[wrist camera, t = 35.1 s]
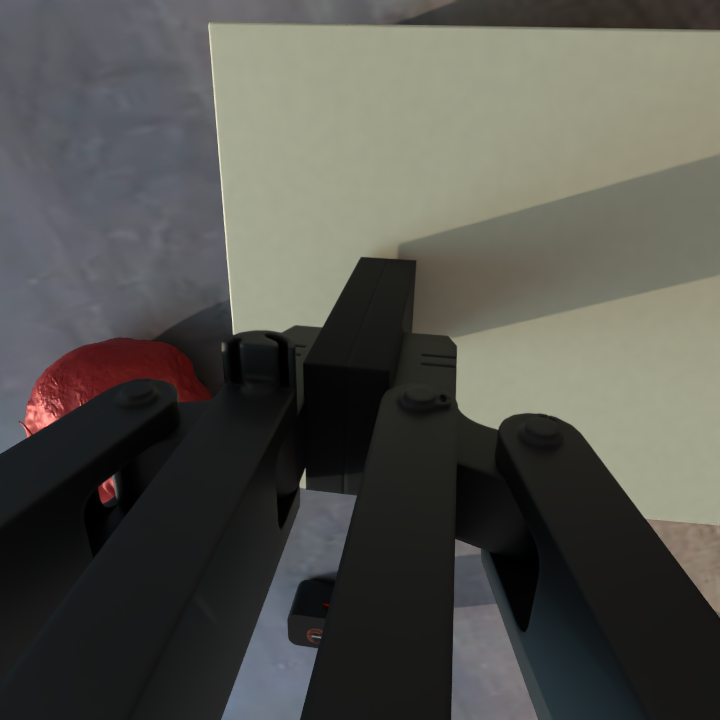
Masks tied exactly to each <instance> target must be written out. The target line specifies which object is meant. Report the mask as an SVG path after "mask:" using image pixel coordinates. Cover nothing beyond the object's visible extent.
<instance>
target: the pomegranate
mask: <svg viewBox="0 0 720 720" xmlns="http://www.w3.org/2000/svg"><path fill="white" fill-rule="evenodd" d="M140 378H141V379H143V378H151V379H156V380H163V381H166V382H168V383H171V384H173V385H174V387H175V388H176V389H177V392H178V400H179V402H191V401H203V400H211V399H213V398H212V395H211V393H210V392H209V390H208V389H207V388H206V387H205V386H204V385H203V384H202V383H201V382H200V381H199V380H198V379H197V378H196V376H195V372H194V368H193V364H192V362H191V360H190V359H189V358H188V357H187V356H186V355H185V354H184V353H183V352H182V351H181V350H179V349H178V348H177V347H175V346H173V345H169V344H167V343H164V342H159V341H147V340H135V339H130V338H114V339H109V340H106V341H103V342H99V343H94V344H89V345H84V346H81V347H79V348H77V349H75V350H73V351H71V352H69V353H67V354H66V355H64V356H63V357H62V358H60V359H59V360H57V361H56V362H55V363H54V364H53V365H51V366H50V367H49V368H47V369H46V370H45V371H44V373H43V374H42V376H41V377H40V378H39V379H38V380H37V381H36V384H35V386H34V388H33V390H32V393H31V397H30V400H29V401H28V403H27V408H26V409H27V410H26V415H25V425H26V426H25V425H24V424H23V423H22V422H20V421H19V423H21V424H22V425H23V427H24V428H25V430H26V433H27V437H30V436H31V435H33V434H34V433H36V432H38V431H39V430H41V429H43V428H44V427H46V426H48V425H49V424H51V423H53V422H54V421H56V420H58V419H59V418H61V417H63V416H64V415H66V414H68V413H69V412H71V411H73V410H74V409H76V408H78V407H79V406H81V405H83V404H84V403H86V402H88V401H89V400H91V399H92V398H94V397H96V396H97V395H99V394H101V393H102V392H104V391H106V390H107V389H109V388H112V387H114V386H116V385H118V384H120V383H124V382H128V381H131V380H133V379H140ZM98 490H99V495H100V499H101V502H102V503H105V502H107V501H109V500H110V499H112V498H113V497H114V496H115V495H116V494H115V489H114V484H113V479H112V477H110V478H109V479H108V480H107V481H105V482H104V483H103V484H101V485H100V486H99V487H98Z"/></svg>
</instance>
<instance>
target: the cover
mask: <svg viewBox="0 0 720 720" xmlns="http://www.w3.org/2000/svg"><path fill="white" fill-rule="evenodd" d="M209 38H210V50H211V63H212V75H213V88H214V100H215V113H216V125H217V138H218V150H219V163H220V175H221V188H222V200H223V213H224V225H225V238H226V250H227V263H228V275H229V288H230V300H231V313H232V325H233V335H235V334H237V333H240V332H246V331H253V330H270V331H276V332H281V333H282V332H284V331H285V330H287V329H289V328H291V327H293V326H295V325H300V326H312V327H323V325H324V324H325V322H326V320H327V318H328V316H329V314H330V313H331V311H332V309H333V307H334V305H335V303H336V301H337V300H338V298H339V296H340V294H341V292H342V290H343V289H344V287H345V285H346V283H347V281H348V279H349V278H350V276H351V274H352V272H353V270H354V268H355V267H356V265H357V263H358V261H359V259H360V257H372V258H387V259H403V260H417V261H416V277H415V292H414V308H413V323H412V333H420V334H432V335H445V336H449V337H450V339H451V340H452V341H453V342H454V343H455V344H456V345H457V373H456V401H457V404H458V409H459V410H460V411H461V413H463V414H464V415H465V416H466V417H467V418H469V419H471V420H473V421H475V422H476V423H479V424H482V425H484V426H487V427H490V428H494V429H497V430H499V426H500V425H501V423H502V422H503V420H504V419H506V418H508V417H510V416H512V415H516V414H523V413H534V414H538V413H541V414H547V415H548V416H550V415H551V416H554V417H557V418H559V419H561V420H563V421H565V422H567V423H569V424H571V425H572V426H574V427H575V428H576V429H577V430H578V431H579V432H580V433H581V434H582V435H583V436H584V438H585V439H586V440H587V442H588V443H589V444H590V446H591V447H592V448H593V450H594V451H595V452H596V454H597V455H598V456H599V458H600V459H601V460H602V462H603V463H604V464H605V466H606V467H607V468H608V470H609V471H610V472H611V474H612V475H613V476H614V478H615V479H616V480H617V482H618V483H619V484H620V486H621V487H622V488H623V490H624V491H625V492H626V494H627V495H628V496H629V498H630V499H631V500H632V502H633V503H634V504H635V506H636V507H637V508H638V510H639V511H640V512H641V514H642V515H643V516H644V518H645V519H655V520H666V521H678V522H689V523H700V524H711V525H720V30H693V29H633V28H572V27H511V26H450V25H390V24H329V23H268V22H209ZM300 488H306V469H305V471H304V473H303V476H302V478H301V481H300Z"/></svg>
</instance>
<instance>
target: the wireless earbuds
mask: <svg viewBox="0 0 720 720" xmlns="http://www.w3.org/2000/svg"><path fill="white" fill-rule="evenodd" d="M334 585H335V583H328V582H321V581H314V580H304V581H302V582H301V583H300V584H299V586H298V588H297V591H296V594H295V598H294V601H293V604H292V607H291V610H290V613H289V616H288V637H289V640H290V641H291V642H292V643H293V644H295V645H300V646H307V647H313V648H319V644H320V640H321V636H322V632H323V628H324V624H325V620H326V616H327V612H328V608H329V604H330V600H331V596H332V592H333V589H334Z"/></svg>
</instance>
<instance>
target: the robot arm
mask: <svg viewBox="0 0 720 720" xmlns="http://www.w3.org/2000/svg"><path fill="white" fill-rule="evenodd" d="M416 261H417V260H403V259H387V258H372V257H360V259H359V261H358V263H357V265H356V267H355V268H354V270H353V272H352V274H351V276H350V278H349V279H348V281H347V283H346V285H345V287H344V289H343V290H342V292H341V294H340V296H339V298H338V300H337V301H336V303H335V305H334V307H333V309H332V311H331V313H330V314H329V316H328V318H327V320H326V322H325V324H324V325H323V327H312V326H300V325H295V326H293V327H291V328H289V329H287V330H285V331H284V332H282V333H281V332H276V331H270V330H253V331H246V332H240V333H237V334H235V335H232V336H229V337H227V338H226V339H225V340H223V341H222V342H221V346H222V357H223V368H224V379H225V384H224V385H223V387H222V388H221V389H220V391H219V392H218V393H217V395H216V396H215V397H214V399H211V400H203V401H191V402H179V400H178V392H177V389H176V388H175V387H174V385H173V384H171V383H168V382H166V381H163V380H156V379H151V378H143V379H141V378H140V379H133V380H131V381H128V382H124V383H120V384H118V385H116V386H114V387H112V388H109V389H107V390H106V391H104V392H102V393H101V394H99V395H97V396H96V397H94V398H92V399H91V400H89V401H88V402H86V403H84V404H83V405H81V406H79V407H78V408H76V409H74V410H73V411H71V412H69V413H68V414H66V415H64V416H63V417H61V418H59V419H58V420H56V421H54V422H53V423H51V424H49V425H48V426H46V427H44V428H43V429H41V430H39V431H38V432H36V433H34V434H33V435H31V436H30V437H28V438H26V439H25V440H23V441H21V442H20V443H18V444H16V445H15V446H13V447H11V448H10V449H8V450H6V451H5V452H3V453H1V454H0V720H221V718H222V715H223V713H224V710H225V707H226V705H227V702H228V699H229V696H230V694H231V691H232V688H233V686H234V683H235V680H236V677H237V675H238V672H239V669H240V667H241V664H242V661H243V658H244V656H245V653H246V650H247V648H248V645H249V642H250V639H251V637H252V634H253V631H254V629H255V626H256V623H257V620H258V618H259V615H260V612H261V610H262V607H263V604H264V601H265V599H266V596H267V593H268V591H269V588H270V585H271V582H272V580H273V577H274V574H275V572H276V569H277V566H278V563H279V561H280V558H281V555H282V553H283V550H284V547H285V544H286V542H287V539H288V536H289V534H290V531H291V528H292V526H293V523H294V520H295V517H296V515H297V512H298V509H299V506H300V481H301V478H302V476H303V473H304V471H305V469H306V490H315V491H323V492H332V493H340V494H349V495H357V498H356V502H355V506H354V510H353V514H352V518H351V522H350V525H349V529H348V533H347V537H346V541H345V545H344V549H343V553H342V557H341V561H340V565H339V569H338V573H337V577H336V581H335V585H334V589H333V592H332V596H331V600H330V604H329V608H328V612H327V616H326V620H325V624H324V628H323V632H322V636H321V640H320V644H319V648H318V652H317V655H316V659H315V663H314V667H313V671H312V675H311V679H310V683H309V687H308V691H307V695H306V699H305V703H304V707H303V711H302V715H301V718H300V720H451V699H452V654H453V609H454V564H455V539H457V540H460V541H463V542H465V543H468V544H471V545H473V546H476V547H478V548H481V557H482V563H483V566H484V569H485V571H486V574H487V577H488V580H489V583H490V585H491V588H492V591H493V594H494V597H495V599H496V602H497V605H498V608H499V611H500V613H501V616H502V619H503V622H504V625H505V627H506V630H507V633H508V636H509V639H510V641H511V644H512V647H513V650H514V653H515V656H516V658H517V661H518V664H519V667H520V670H521V672H522V675H523V678H524V681H525V684H526V686H527V689H528V692H529V695H530V698H531V700H532V703H533V706H534V709H535V712H536V714H537V717H538V720H720V618H719V617H718V615H717V614H716V613H715V611H714V610H713V609H712V607H711V606H710V605H709V603H708V602H707V601H706V599H705V598H704V597H703V595H702V594H701V593H700V591H699V590H698V589H697V587H696V586H695V585H694V583H693V582H692V581H691V579H690V578H689V577H688V575H687V574H686V573H685V571H684V570H683V569H682V567H681V566H680V565H679V563H678V562H677V561H676V559H675V558H674V557H673V555H672V554H671V553H670V551H669V550H668V549H667V547H666V546H665V545H664V543H663V542H662V541H661V539H660V538H659V537H658V535H657V534H656V533H655V531H654V530H653V529H652V527H651V526H650V525H649V523H648V522H647V520H646V519H645V518H644V516H643V515H642V514H641V512H640V511H639V510H638V508H637V507H636V506H635V504H634V503H633V502H632V500H631V499H630V498H629V496H628V495H627V494H626V492H625V491H624V490H623V488H622V487H621V486H620V484H619V483H618V482H617V480H616V479H615V478H614V476H613V475H612V474H611V472H610V471H609V470H608V468H607V467H606V466H605V464H604V463H603V462H602V460H601V459H600V458H599V456H598V455H597V454H596V452H595V451H594V450H593V448H592V447H591V446H590V444H589V443H588V442H587V440H586V439H585V438H584V436H583V435H582V434H581V433H580V432H579V431H578V430H577V429H576V428H575V427H574V426H572V425H571V424H569V423H567V422H565V421H563V420H561V419H559V418H557V417H554V416H551V415H550V416H548V415H547V414H541V413H538V414H534V413H523V414H516V415H512V416H510V417H508V418H506V419H504V420H503V422H502V423H501V425H500V426H499V430H497V429H494V428H490V427H487V426H484V425H482V424H479V423H476V422H475V421H473V420H471V419H469V418H467V417H466V416H465V415H464V414H463V413H461V411H460V410H459V409H458V404H457V401H456V373H457V345H456V344H455V343H454V342H453V341H452V340H451V339H450V337H449V336H445V335H432V334H420V333H412V323H413V308H414V292H415V277H416ZM110 477H112V479H113V484H114V489H115V494H116V495H115V496H114V497H113V498H112V499H110V500H109V501H107V502H105V503H102V502H101V499H100V495H99V490H98V487H99V486H100V485H101V484H103V483H104V482H105V481H107V480H108V479H109V478H110Z"/></svg>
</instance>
